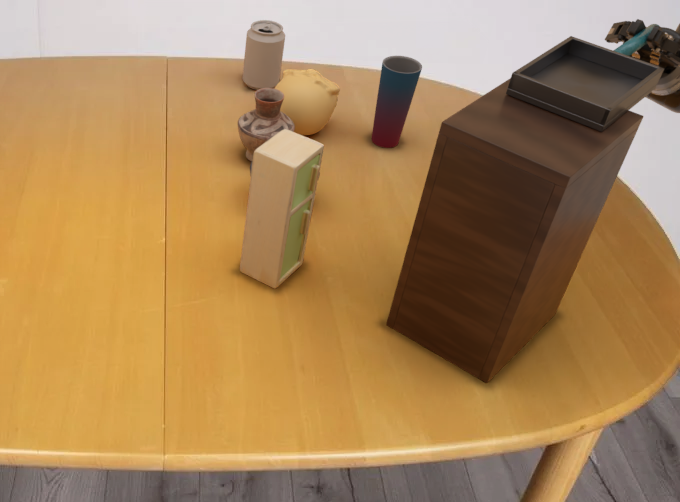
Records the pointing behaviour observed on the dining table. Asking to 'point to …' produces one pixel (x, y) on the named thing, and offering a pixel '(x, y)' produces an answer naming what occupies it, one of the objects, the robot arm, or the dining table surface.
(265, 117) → the pottery
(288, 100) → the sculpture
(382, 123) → the cup
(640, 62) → the grey square pan
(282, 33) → the can
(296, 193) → the toy refrigerator
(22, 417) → the dining table surface
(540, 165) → the wooden filing cabinet
